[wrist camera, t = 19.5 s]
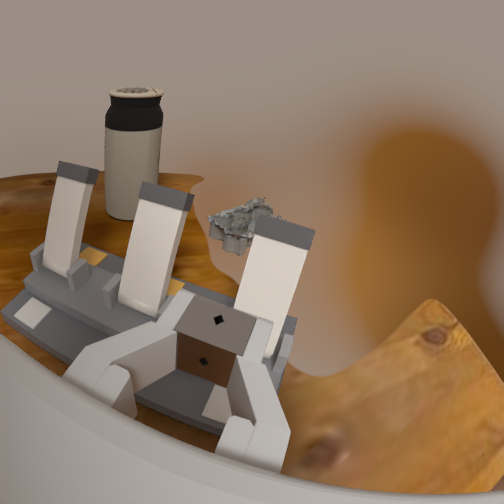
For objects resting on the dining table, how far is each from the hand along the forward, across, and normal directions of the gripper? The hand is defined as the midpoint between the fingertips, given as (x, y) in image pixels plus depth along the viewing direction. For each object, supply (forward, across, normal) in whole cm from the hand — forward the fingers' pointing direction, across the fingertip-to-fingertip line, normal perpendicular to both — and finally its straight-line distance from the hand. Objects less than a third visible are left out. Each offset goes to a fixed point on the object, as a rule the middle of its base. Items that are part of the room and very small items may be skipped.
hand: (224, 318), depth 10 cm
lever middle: (+10, +9, +13) cm, 19 cm away
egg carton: (+32, +5, +18) cm, 36 cm away
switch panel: (+10, +9, +17) cm, 22 cm away
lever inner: (+10, +19, +13) cm, 25 cm away
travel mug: (+29, +23, +18) cm, 41 cm away
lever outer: (+10, -1, +13) cm, 16 cm away
